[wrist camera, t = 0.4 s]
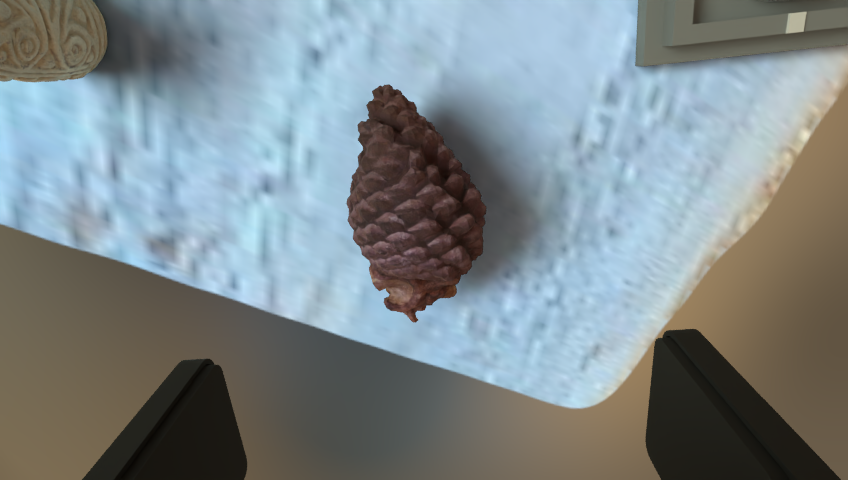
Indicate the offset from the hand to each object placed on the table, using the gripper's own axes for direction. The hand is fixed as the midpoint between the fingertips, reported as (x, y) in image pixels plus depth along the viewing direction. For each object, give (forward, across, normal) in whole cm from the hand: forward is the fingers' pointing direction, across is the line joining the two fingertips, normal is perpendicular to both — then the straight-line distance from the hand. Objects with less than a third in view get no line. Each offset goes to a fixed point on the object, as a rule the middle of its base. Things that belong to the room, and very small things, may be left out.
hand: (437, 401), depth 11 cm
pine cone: (+30, +2, +3) cm, 30 cm away
